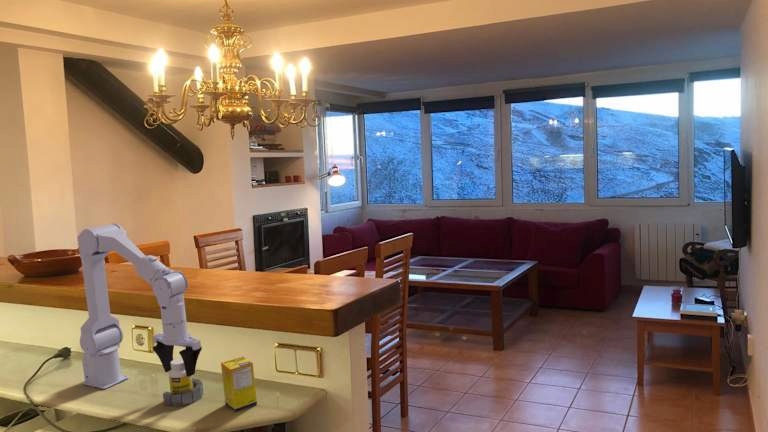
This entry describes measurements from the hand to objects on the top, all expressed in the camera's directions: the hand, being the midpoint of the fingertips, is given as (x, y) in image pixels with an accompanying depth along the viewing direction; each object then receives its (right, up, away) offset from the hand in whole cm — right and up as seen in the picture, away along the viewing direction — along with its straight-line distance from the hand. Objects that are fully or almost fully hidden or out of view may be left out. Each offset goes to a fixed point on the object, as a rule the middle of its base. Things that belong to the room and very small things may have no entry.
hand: (179, 372), depth 158 cm
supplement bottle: (0, -7, +1) cm, 7 cm away
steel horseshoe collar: (+2, -7, 0) cm, 7 cm away
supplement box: (+17, -7, -5) cm, 19 cm away
